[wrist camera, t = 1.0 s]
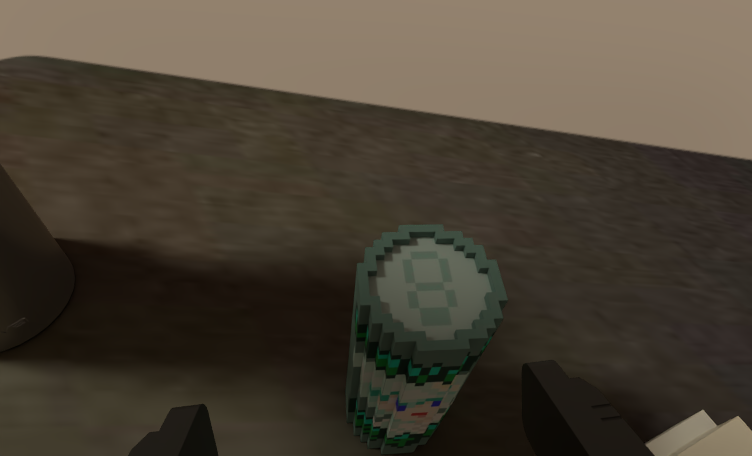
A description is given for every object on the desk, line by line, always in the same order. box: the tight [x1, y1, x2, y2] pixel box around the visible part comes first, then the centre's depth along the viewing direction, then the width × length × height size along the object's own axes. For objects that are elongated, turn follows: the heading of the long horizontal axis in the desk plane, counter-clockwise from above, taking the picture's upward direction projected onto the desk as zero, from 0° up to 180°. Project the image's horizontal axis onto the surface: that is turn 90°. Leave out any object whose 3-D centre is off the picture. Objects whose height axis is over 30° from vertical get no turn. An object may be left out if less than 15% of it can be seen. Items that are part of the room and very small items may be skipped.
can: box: [345, 224, 508, 455], centre depth 26 cm, size 6×6×15 cm
